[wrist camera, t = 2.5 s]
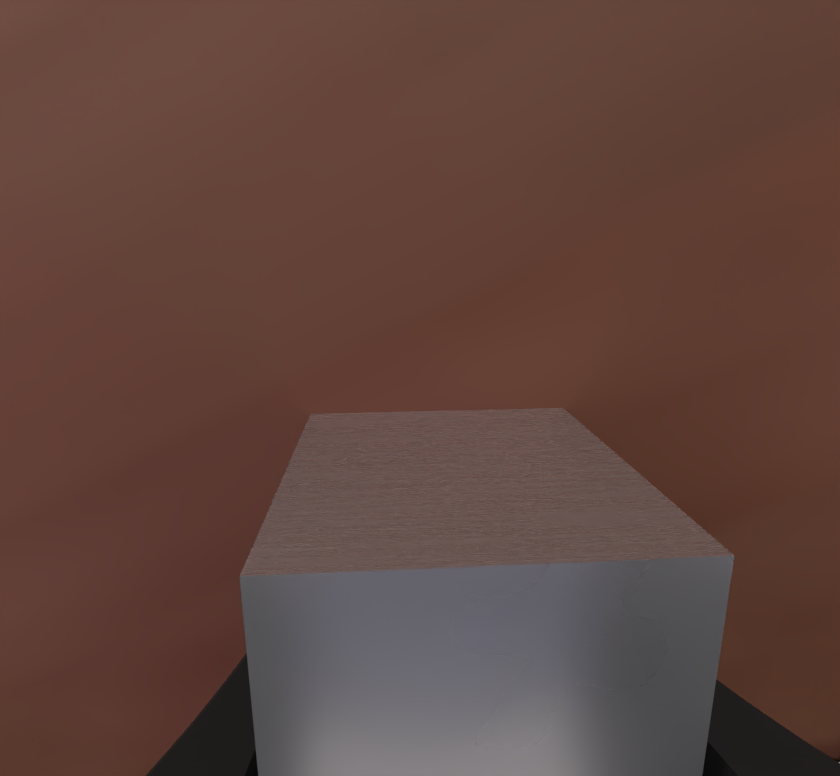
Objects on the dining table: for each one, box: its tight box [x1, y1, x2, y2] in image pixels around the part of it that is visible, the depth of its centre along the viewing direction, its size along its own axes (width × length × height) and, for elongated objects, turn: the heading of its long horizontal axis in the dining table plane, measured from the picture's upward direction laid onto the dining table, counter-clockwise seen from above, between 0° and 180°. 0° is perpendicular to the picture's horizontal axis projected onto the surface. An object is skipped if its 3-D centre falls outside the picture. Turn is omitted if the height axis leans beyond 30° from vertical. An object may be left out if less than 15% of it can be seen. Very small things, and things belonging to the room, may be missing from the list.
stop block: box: [240, 408, 734, 776], centre depth 8 cm, size 4×8×5 cm, turn 0°
